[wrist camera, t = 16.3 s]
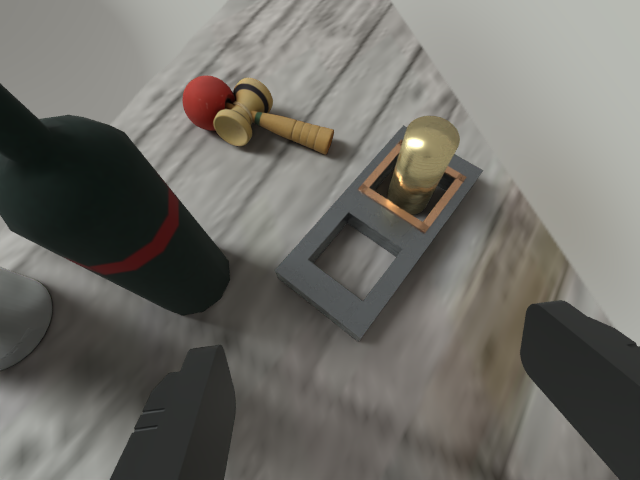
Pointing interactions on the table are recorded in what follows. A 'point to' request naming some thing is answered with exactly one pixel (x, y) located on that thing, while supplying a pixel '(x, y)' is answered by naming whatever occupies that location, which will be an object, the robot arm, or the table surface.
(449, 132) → the brass peg
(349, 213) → the grey flat frame
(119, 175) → the wine bottle
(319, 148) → the kendama
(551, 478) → the table surface
